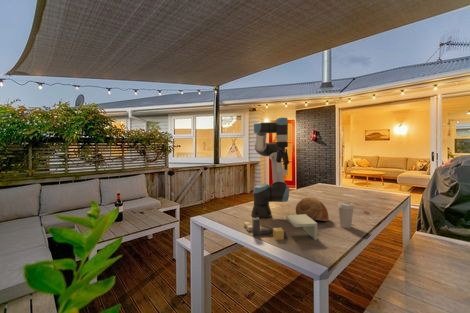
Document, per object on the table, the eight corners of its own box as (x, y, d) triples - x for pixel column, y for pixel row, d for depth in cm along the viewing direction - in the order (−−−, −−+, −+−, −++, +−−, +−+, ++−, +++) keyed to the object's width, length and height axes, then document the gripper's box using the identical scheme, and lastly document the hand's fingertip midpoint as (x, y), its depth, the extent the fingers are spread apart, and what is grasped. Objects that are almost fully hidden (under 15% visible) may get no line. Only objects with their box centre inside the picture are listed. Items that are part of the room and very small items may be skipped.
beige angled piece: (285, 230, 143) (285, 215, 142) (305, 228, 144) (305, 214, 143) (295, 241, 127) (295, 224, 126) (317, 239, 128) (317, 223, 128)
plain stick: (243, 226, 151) (243, 222, 151) (248, 225, 152) (248, 221, 151) (248, 232, 141) (248, 227, 141) (253, 231, 142) (253, 227, 142)
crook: (252, 233, 138) (252, 217, 137) (281, 231, 140) (281, 216, 139) (255, 240, 128) (255, 223, 128) (286, 238, 130) (286, 221, 130)
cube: (272, 236, 134) (272, 228, 134) (281, 235, 135) (281, 227, 134) (275, 239, 129) (275, 231, 129) (283, 239, 130) (283, 230, 129)
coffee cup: (357, 228, 143) (357, 205, 142) (343, 229, 141) (343, 206, 140) (347, 223, 152) (347, 201, 151) (334, 224, 151) (334, 202, 150)
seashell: (312, 210, 176) (315, 192, 172) (331, 224, 157) (335, 205, 153) (289, 213, 168) (292, 195, 164) (307, 229, 150) (311, 209, 146)
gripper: (271, 141, 161) (271, 171, 162) (282, 141, 136) (282, 176, 138) (281, 141, 162) (281, 170, 163) (294, 141, 137) (294, 175, 138)
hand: (282, 173), depth 150 cm, fingers open, 13 cm apart
